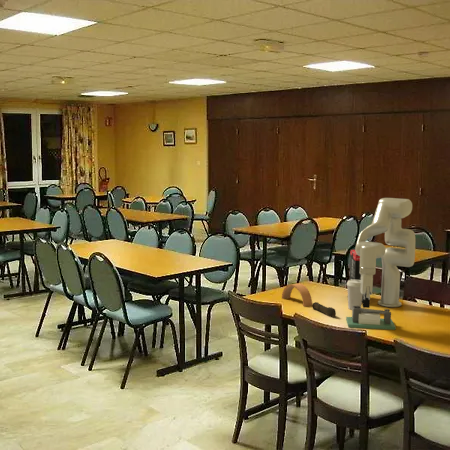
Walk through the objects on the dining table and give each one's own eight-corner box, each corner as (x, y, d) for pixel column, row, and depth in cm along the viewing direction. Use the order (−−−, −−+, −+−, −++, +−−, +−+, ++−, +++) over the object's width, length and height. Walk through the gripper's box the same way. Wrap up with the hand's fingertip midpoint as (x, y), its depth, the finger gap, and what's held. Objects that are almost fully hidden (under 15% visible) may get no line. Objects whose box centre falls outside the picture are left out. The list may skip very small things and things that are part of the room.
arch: (289, 297, 347) (290, 280, 346) (312, 305, 330) (312, 287, 329) (281, 298, 344) (282, 281, 343) (303, 306, 327) (304, 288, 326)
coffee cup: (363, 311, 319) (365, 283, 317) (345, 310, 321) (346, 282, 319) (363, 306, 329) (364, 279, 327) (345, 305, 331) (346, 278, 329)
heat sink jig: (346, 319, 304) (346, 303, 303) (391, 321, 301) (392, 305, 300) (348, 327, 291) (349, 310, 290) (395, 329, 289) (396, 312, 288)
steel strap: (355, 309, 298) (356, 305, 297) (388, 313, 296) (388, 308, 296) (356, 311, 295) (356, 306, 295) (389, 314, 293) (389, 310, 293)
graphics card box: (366, 303, 336) (368, 254, 332) (353, 303, 336) (355, 254, 332) (359, 295, 353) (361, 249, 349) (347, 295, 353) (349, 249, 349)
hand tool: (311, 309, 323) (311, 301, 322) (318, 308, 324) (318, 300, 324) (330, 319, 305) (330, 310, 305) (337, 318, 307) (337, 309, 306)
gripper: (358, 266, 301) (356, 302, 304) (361, 273, 286) (359, 311, 289) (373, 267, 300) (372, 303, 303) (377, 274, 285) (375, 311, 288)
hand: (366, 307), depth 296 cm, fingers closed
